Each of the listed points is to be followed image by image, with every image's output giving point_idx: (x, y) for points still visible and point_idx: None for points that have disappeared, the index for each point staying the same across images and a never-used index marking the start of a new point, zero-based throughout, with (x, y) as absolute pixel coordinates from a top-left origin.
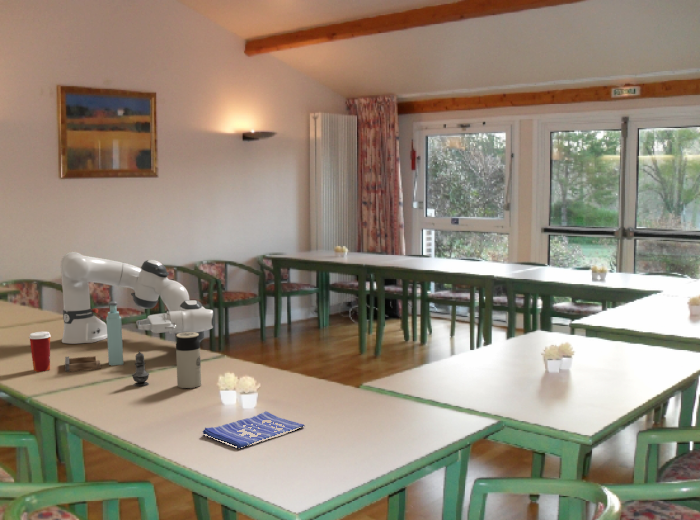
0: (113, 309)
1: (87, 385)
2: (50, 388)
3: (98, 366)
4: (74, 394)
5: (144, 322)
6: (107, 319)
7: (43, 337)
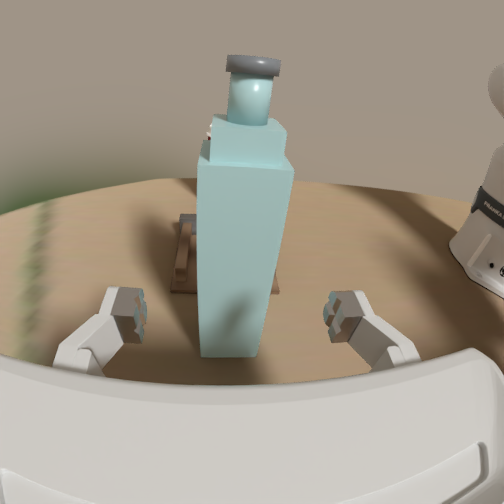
0: (228, 98)
1: (32, 257)
2: (67, 215)
3: (189, 286)
4: (3, 240)
5: (377, 354)
6: (203, 142)
7: (209, 133)
